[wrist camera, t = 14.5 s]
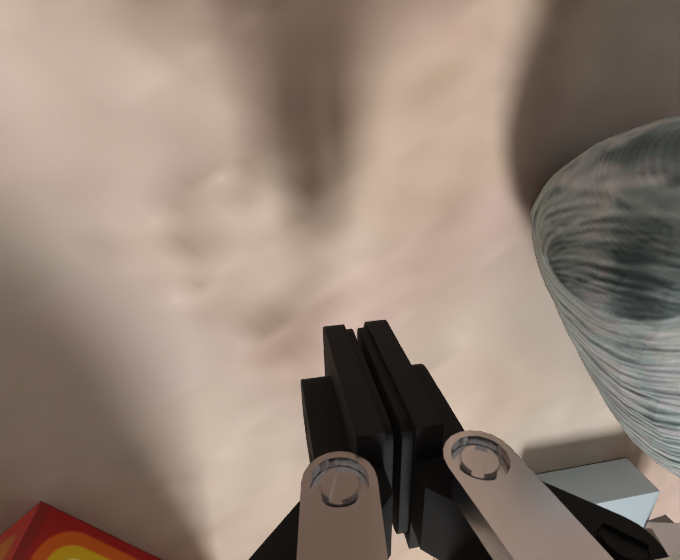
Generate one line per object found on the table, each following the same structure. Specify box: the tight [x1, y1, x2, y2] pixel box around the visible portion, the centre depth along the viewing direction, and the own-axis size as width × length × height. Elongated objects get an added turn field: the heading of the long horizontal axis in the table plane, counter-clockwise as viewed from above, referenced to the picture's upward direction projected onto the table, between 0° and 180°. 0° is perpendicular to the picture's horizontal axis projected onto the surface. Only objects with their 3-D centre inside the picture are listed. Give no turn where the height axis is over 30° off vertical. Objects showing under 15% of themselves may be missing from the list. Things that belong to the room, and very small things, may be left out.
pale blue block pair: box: [536, 458, 660, 528], centre depth 16 cm, size 27×6×2 cm, turn 1°
